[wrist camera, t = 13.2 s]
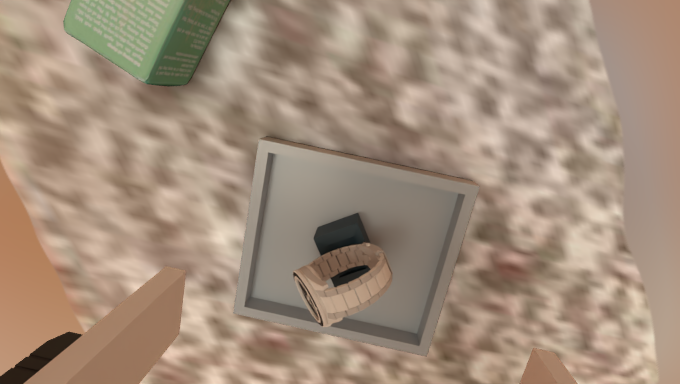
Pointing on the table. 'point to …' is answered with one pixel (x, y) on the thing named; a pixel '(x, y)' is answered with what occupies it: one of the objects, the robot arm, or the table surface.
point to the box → (147, 34)
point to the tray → (381, 227)
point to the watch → (343, 272)
